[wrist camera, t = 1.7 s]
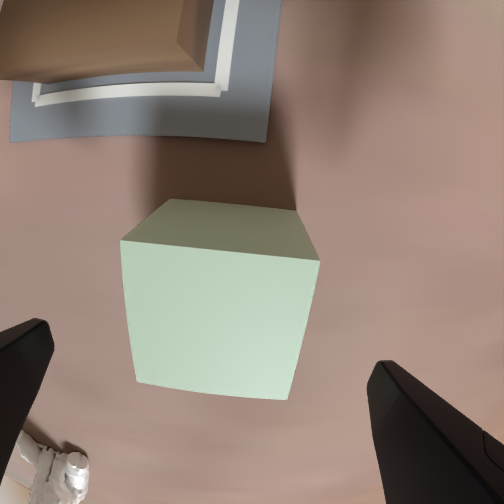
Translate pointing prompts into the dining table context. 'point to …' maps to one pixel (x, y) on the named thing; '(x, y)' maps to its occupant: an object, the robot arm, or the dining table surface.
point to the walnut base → (101, 38)
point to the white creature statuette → (54, 473)
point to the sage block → (218, 297)
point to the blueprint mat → (168, 89)
